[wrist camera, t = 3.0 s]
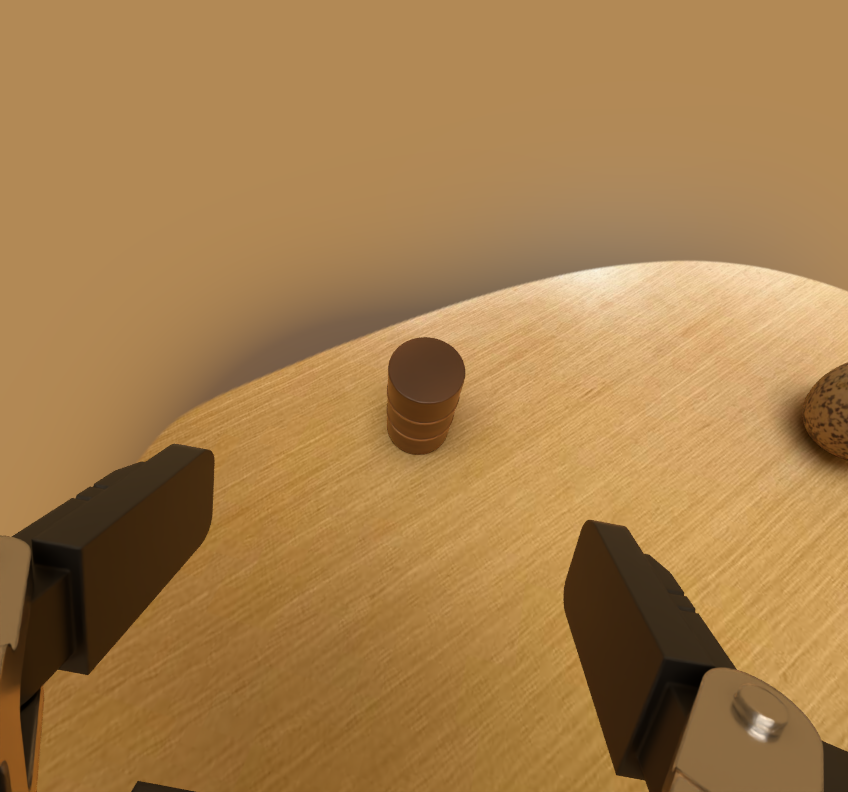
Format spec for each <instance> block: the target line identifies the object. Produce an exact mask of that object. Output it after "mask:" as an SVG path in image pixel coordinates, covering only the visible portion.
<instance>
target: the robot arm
mask: <svg viewBox="0 0 848 792" xmlns="http://www.w3.org/2000/svg"><path fill="white" fill-rule="evenodd" d="M213 486H214V455H213V453H212V451H210V450H207V449H201V448H196V447H190V446H185V445H179V444H172V445H170V446H168V447H167V448H165V449H164V450H162V451H161V452H160V453H158V454H157V455H155V456H154V457H152V458H151V459H149V460H148V461H146V462H139V463H136V464H133V465H130V466H127V467H125V468H122V469H118V470H116V471H114V472H112V473H110V474H109V475H107V476H106V477H104V478H103V479H101V480H100V481H98V482H96V483H95V484H94V486H93V487H89V488H87V489H85V490H84V491H82V492H81V493H79V494H78V495H77V496H76V498H75V499H74V498H71V499H70V500H68V501H67V502H65V503H64V504H62V505H60V506H59V507H57V508H56V509H54V510H53V511H51V512H50V513H48V514H47V515H45V516H43V517H42V518H40V519H39V520H37V521H35V522H34V523H32V524H31V525H29V526H28V527H26V528H25V529H23V530H21V531H20V532H18V533H17V534H15V535H14V536H12V537H9V536H0V792H37V781H38V768H39V756H40V744H41V732H42V720H43V708H44V688H43V684H44V683H45V682H46V681H47V680H48V679H49V678H50V677H51V676H52V675H53V674H54V673H55V672H56V671H57V670H64V671H69V672H74V673H80V674H85V675H89V674H90V672H91V671H92V670H93V669H94V668H95V667H96V665H97V664H98V663H99V662H100V661H101V660H102V659H103V657H104V656H105V655H106V654H107V653H108V652H109V650H110V649H111V648H112V647H113V646H114V645H115V644H116V642H117V641H118V640H119V639H120V638H121V637H122V635H123V634H124V633H125V632H126V631H127V630H128V629H129V627H130V626H131V625H132V624H133V623H134V622H135V620H136V619H137V618H138V617H139V616H140V615H141V614H142V612H143V611H144V610H145V609H146V608H147V607H148V605H149V604H150V603H151V602H152V601H153V600H154V599H155V597H156V596H157V595H158V594H159V593H160V592H161V590H162V589H163V588H164V587H165V586H166V585H167V584H168V582H169V581H170V580H171V579H172V578H173V577H174V575H175V574H176V573H177V572H178V571H179V570H180V569H181V567H182V566H183V565H184V564H185V563H186V562H187V560H188V559H189V558H190V557H191V556H192V555H193V553H194V552H195V551H196V550H197V549H198V548H199V547H200V545H201V544H202V543H203V541H204V539H205V538H206V535H207V533H208V531H209V528H210V525H211V520H212V511H213ZM564 609H565V614H566V617H567V620H568V623H569V626H570V629H571V633H572V636H573V639H574V642H575V645H576V649H577V652H578V655H579V658H580V661H581V664H582V668H583V671H584V674H585V677H586V680H587V683H588V687H589V690H590V693H591V696H592V699H593V703H594V706H595V709H596V712H597V715H598V718H599V722H600V725H601V728H602V731H603V734H604V737H605V741H606V744H607V747H608V750H609V753H610V757H611V760H612V763H613V766H614V769H615V772H616V775H619V776H624V777H629V778H635V779H640V780H645V781H646V784H647V787H648V789H649V792H848V752H847V751H844V750H842V749H840V748H837V747H835V746H833V745H830V744H828V743H826V742H823V741H821V738H820V736H819V734H818V732H817V730H816V729H815V727H814V726H813V724H812V723H811V721H810V720H809V719H808V718H807V716H806V715H805V714H804V713H803V712H802V711H801V710H800V709H799V708H798V707H797V706H796V705H795V704H794V703H793V702H792V701H791V700H789V699H788V698H787V697H786V696H784V695H783V694H782V693H780V692H779V691H778V690H776V689H775V688H773V687H772V686H770V685H769V684H767V683H765V682H764V681H762V680H760V679H758V678H756V677H754V676H752V675H749V674H747V673H745V672H742V671H739V670H737V669H736V668H735V666H734V665H733V663H732V662H731V660H730V659H729V658H728V656H727V655H726V653H725V652H724V650H723V649H722V647H721V646H720V644H719V643H718V641H717V640H716V639H715V637H714V636H713V634H712V633H711V631H710V630H709V628H708V627H707V625H706V624H705V622H704V621H703V620H702V618H701V617H700V615H699V614H697V613H695V608H694V606H693V605H692V603H691V602H690V601H689V599H688V598H687V597H686V596H684V592H683V590H682V589H681V587H680V586H679V585H678V583H677V582H676V580H675V579H674V577H673V576H672V574H671V573H670V572H669V571H668V570H667V569H665V568H664V567H663V566H662V565H661V564H660V563H658V562H657V561H656V560H655V559H654V558H653V557H651V556H650V555H648V554H644V553H643V552H642V550H641V549H640V547H639V546H638V544H637V543H636V541H635V539H634V538H633V536H632V535H631V533H630V532H629V530H628V529H627V528H626V527H625V526H621V525H616V524H610V523H605V522H599V521H594V520H587V521H586V522H585V523H584V525H583V527H582V529H581V532H580V536H579V539H578V542H577V545H576V549H575V552H574V555H573V558H572V561H571V565H570V568H569V571H568V574H567V578H566V581H565V586H564ZM131 792H194V791H189V790H184V789H178V788H173V787H168V786H162V785H157V784H151V783H146V782H141V781H137V783H136V785H135V786H134V788H133V790H132V791H131Z"/></svg>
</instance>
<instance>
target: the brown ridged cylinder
mask: <svg viewBox="0 0 848 792" xmlns="http://www.w3.org/2000/svg"><path fill="white" fill-rule="evenodd" d="M464 379H465V366H464V363H463V360H462V358H461V356H460V355H459V353H458V352H457V351H456V350H455V349H454V348H453V347H452V346H450V345H449V344H447V343H446V342H444V341H441V340H438V339H435V338H427V337H424V338H415V339H412V340H409V341H407V342H405V343H403V344H402V345H401V346H399V347H398V348H397V349H396V350H395V352H394V353H393V354H392V356H391V358H390V361H389V366H388V386H387V397H388V403H387V430H388V434H389V437H390V438H391V440H392V442H393V443H394V444H395V445H396V446H397V447H398V448H399V449H401V450H403V451H405V452H407V453H410V454H418V455H420V454H427V453H430V452H432V451H434V450H436V449H437V448H439V447H440V446H441V445H442V444H443V442H444V441H445V439H446V437H447V434H448V431H449V427H450V425H451V423H452V420H453V417H454V412H455V409H456V407H457V404H458V401H459V396H460V392H461V389H462V386H463V383H464Z"/></svg>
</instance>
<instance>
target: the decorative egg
mask: <svg viewBox="0 0 848 792" xmlns="http://www.w3.org/2000/svg"><path fill="white" fill-rule="evenodd" d="M803 422H804V426H805V428H806V430H807V432H808V434H809V435H810V437H811V438H812V439H813V440H814V442H815V443H816V444H818V445H819V446H820V447H821V448H823V449H824V450H826V451H827V452H829V453H831V454H833V455H835V456H837V457H840V458H843V459H846V460H848V362H847V363H845V364H843V365H841V366H839V367H837V368H835V369H833V370H832V371H830V372H829V373H827V374H826V375H824V376H823V377H822V378H821V379H820V380H819V381H818V382H817V383H816V384H815V385H814V386H813V387H812V389H811V390H810V392H809V393H808V395H807V397H806V399H805V402H804V406H803Z"/></svg>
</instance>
